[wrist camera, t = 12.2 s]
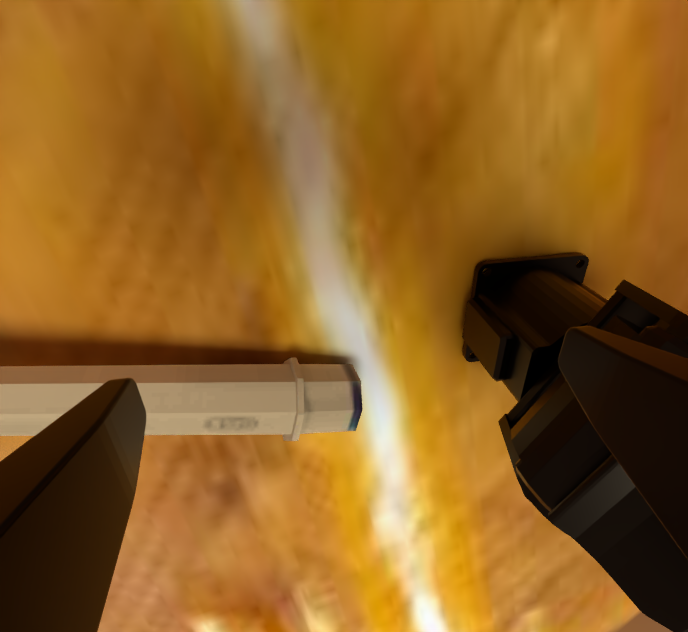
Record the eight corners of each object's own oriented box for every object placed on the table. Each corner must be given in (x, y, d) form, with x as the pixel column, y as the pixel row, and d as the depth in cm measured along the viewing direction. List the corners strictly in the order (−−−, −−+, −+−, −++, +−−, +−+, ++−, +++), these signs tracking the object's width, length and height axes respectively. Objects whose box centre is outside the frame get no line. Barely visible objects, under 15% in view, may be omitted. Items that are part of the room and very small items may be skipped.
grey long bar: (349, 458, 24) (-312, 514, 15) (320, 383, 29) (-176, 389, 20) (373, 386, 21) (-402, 399, 12) (337, 319, 27) (-219, 292, 18)
